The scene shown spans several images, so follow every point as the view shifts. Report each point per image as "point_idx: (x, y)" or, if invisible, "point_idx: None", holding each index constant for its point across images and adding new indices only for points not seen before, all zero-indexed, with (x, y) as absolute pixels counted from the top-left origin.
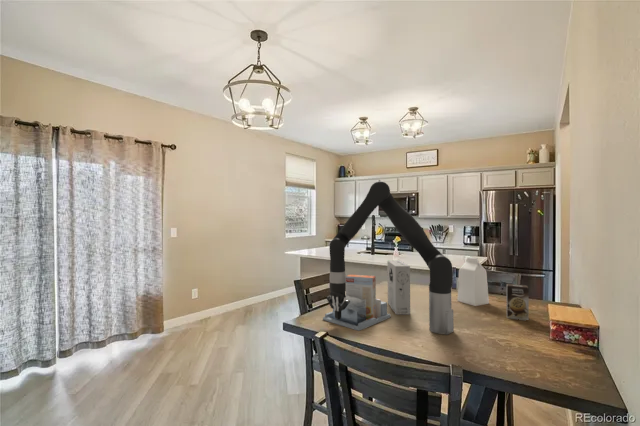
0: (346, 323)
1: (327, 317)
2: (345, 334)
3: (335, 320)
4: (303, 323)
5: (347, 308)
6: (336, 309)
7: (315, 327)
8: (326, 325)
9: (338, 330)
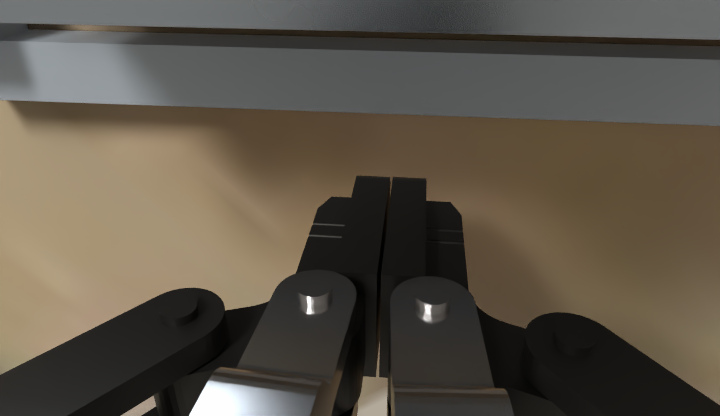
0: (532, 78)
1: (14, 48)
2: (692, 333)
3: (252, 84)
4: (5, 349)
5: (519, 17)
6: (356, 386)
7: None
8: (251, 239)
9: (523, 283)
